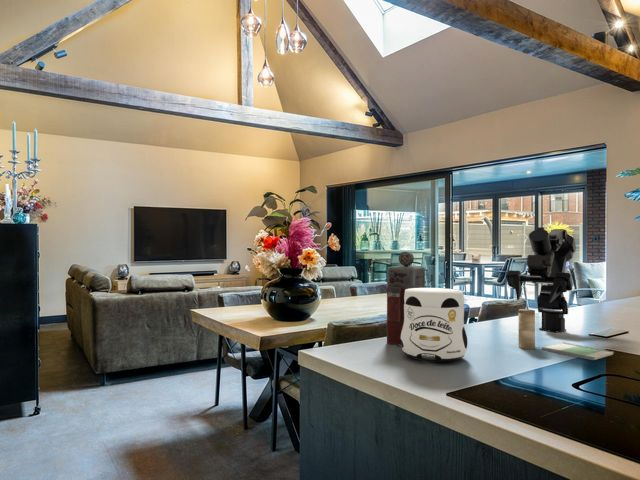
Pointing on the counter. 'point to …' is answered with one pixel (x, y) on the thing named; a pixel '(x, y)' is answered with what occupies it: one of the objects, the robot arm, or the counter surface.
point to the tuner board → (578, 351)
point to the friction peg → (526, 329)
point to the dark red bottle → (400, 293)
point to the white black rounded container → (434, 324)
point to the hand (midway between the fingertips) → (533, 300)
